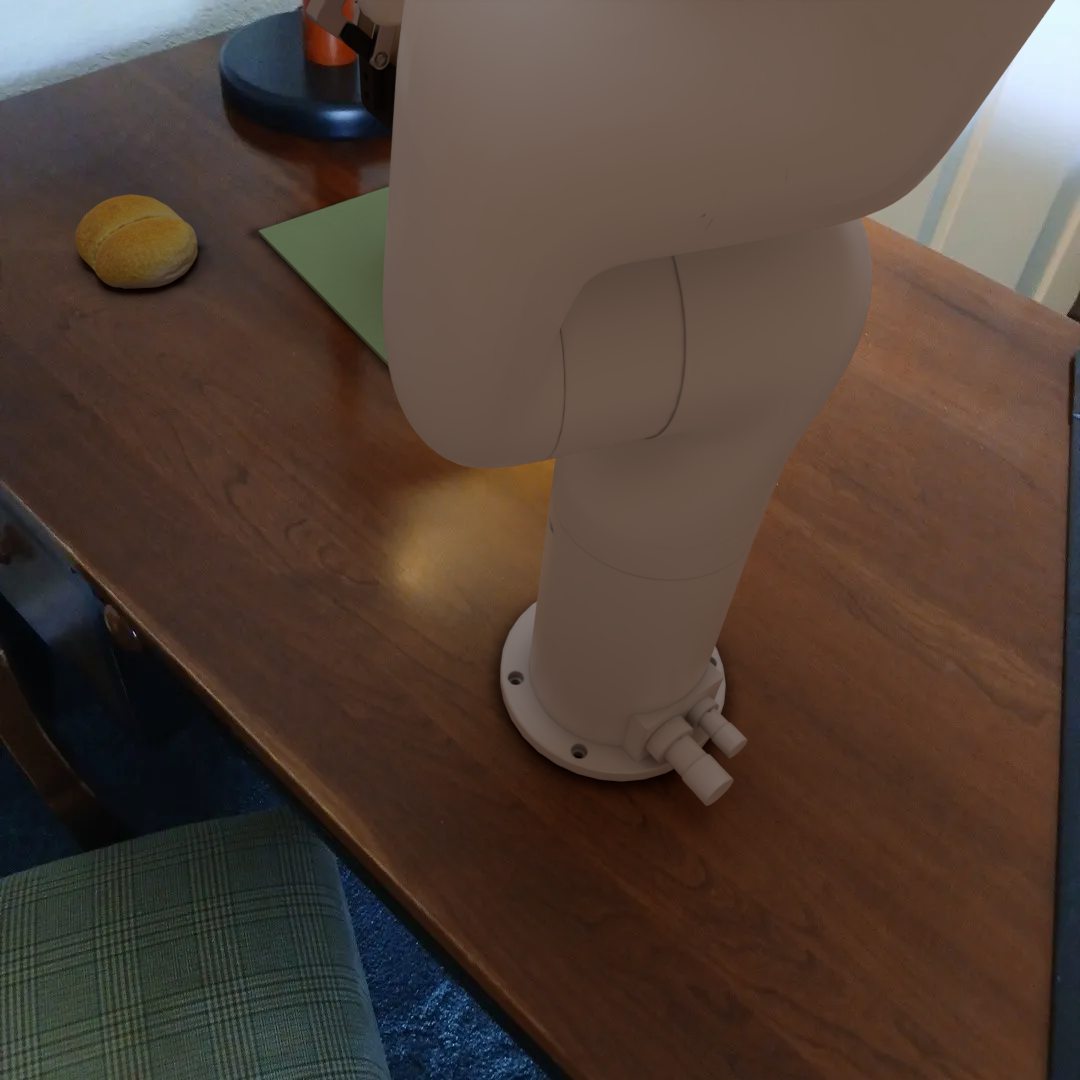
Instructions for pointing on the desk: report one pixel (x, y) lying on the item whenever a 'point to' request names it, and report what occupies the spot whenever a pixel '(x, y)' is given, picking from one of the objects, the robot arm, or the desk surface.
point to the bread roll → (136, 242)
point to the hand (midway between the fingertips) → (419, 103)
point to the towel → (342, 259)
